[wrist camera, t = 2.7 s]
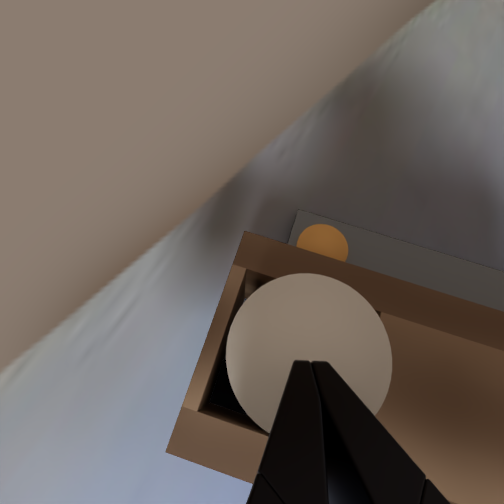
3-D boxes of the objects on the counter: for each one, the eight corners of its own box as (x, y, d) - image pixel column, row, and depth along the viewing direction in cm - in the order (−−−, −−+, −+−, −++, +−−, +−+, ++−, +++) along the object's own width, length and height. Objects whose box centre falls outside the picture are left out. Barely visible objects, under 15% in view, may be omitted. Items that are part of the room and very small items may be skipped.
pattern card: (573, 365, 21) (583, 365, 20) (278, 271, 22) (279, 268, 21) (576, 297, 22) (585, 295, 21) (297, 212, 23) (298, 208, 23)
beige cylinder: (325, 438, 16) (373, 472, 10) (215, 400, 17) (201, 411, 11) (351, 327, 18) (405, 301, 12) (250, 294, 18) (255, 253, 12)
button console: (608, 581, 18) (784, 678, 12) (187, 430, 19) (165, 452, 13) (610, 386, 20) (753, 389, 15) (243, 269, 22) (244, 230, 16)
